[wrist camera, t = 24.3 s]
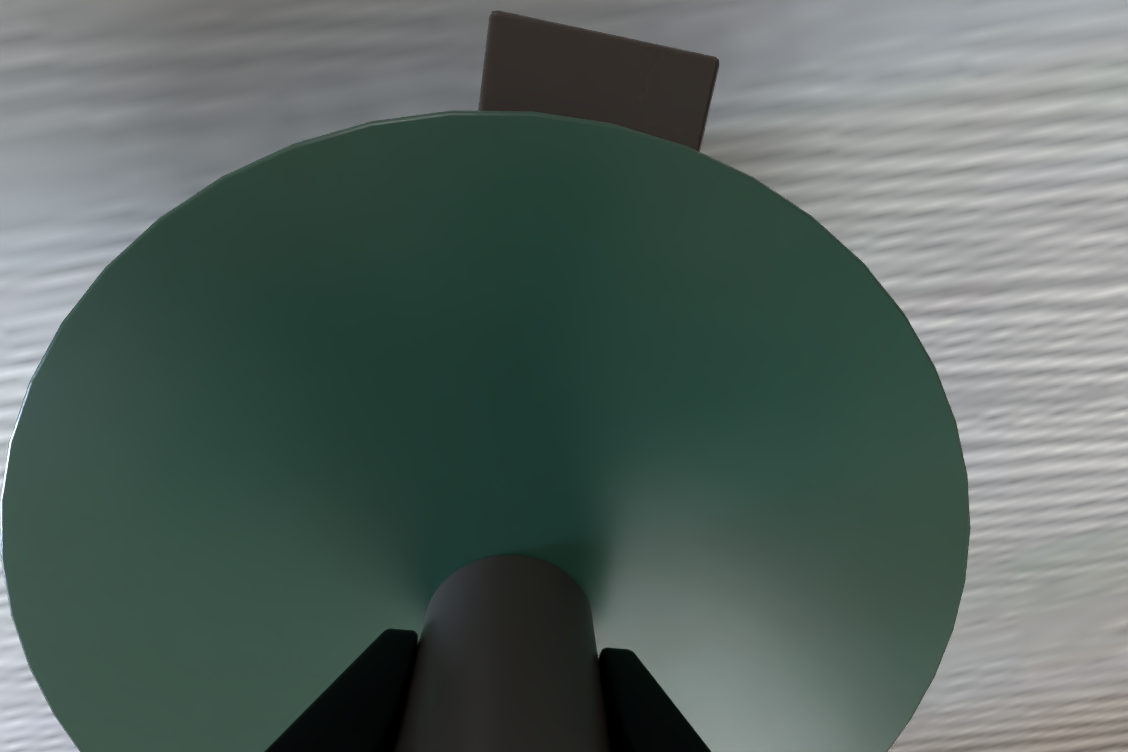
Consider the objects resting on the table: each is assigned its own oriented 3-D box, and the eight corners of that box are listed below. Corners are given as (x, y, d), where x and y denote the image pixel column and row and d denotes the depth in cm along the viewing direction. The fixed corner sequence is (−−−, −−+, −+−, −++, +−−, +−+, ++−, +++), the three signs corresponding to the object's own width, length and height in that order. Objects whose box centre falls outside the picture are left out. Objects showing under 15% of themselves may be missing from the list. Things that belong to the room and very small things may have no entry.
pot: (100, 472, 13) (-83, 585, 9) (582, -2, 11) (609, -118, 7) (483, 768, 16) (467, 943, 12) (917, 451, 14) (1062, 544, 10)
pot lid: (-173, 588, 8) (-1015, 1044, 4) (546, -179, 6) (586, -1263, 2) (492, 999, 11) (467, 1482, 7) (1094, 611, 9) (1580, 962, 5)
